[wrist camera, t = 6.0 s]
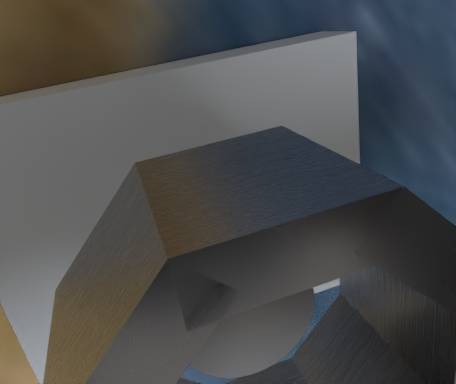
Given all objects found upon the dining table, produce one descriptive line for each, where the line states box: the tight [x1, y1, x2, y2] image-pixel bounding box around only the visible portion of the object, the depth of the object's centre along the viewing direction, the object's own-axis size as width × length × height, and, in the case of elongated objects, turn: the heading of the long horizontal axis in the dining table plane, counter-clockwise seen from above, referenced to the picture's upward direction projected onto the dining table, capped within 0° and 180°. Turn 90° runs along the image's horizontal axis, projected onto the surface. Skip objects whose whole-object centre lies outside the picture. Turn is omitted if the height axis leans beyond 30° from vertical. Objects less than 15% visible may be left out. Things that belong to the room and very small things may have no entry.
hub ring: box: [43, 126, 456, 384], centre depth 8 cm, size 7×7×4 cm
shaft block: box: [0, 31, 360, 384], centre depth 11 cm, size 12×9×7 cm
